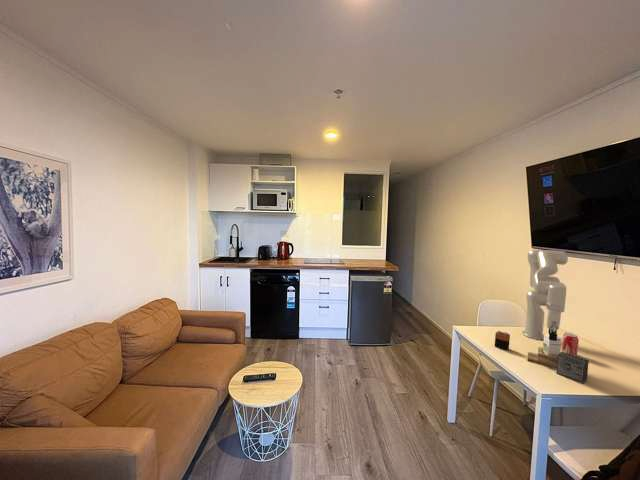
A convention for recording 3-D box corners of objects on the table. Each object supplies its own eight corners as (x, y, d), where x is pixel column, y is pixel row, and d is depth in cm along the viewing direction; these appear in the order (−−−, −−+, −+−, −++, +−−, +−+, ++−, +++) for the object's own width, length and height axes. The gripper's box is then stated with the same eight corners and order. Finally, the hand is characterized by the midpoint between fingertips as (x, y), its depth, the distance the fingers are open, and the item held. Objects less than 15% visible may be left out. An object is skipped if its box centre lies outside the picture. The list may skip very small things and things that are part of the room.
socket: (528, 353, 160) (528, 344, 160) (574, 365, 148) (574, 355, 147) (527, 360, 152) (528, 351, 151) (576, 374, 139) (577, 363, 139)
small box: (587, 380, 134) (589, 359, 133) (583, 384, 131) (585, 363, 130) (560, 370, 143) (562, 350, 142) (555, 373, 139) (557, 354, 139)
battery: (507, 350, 163) (508, 334, 163) (494, 346, 168) (495, 331, 168) (509, 348, 166) (510, 332, 166) (496, 344, 171) (497, 329, 171)
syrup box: (560, 364, 146) (562, 338, 145) (547, 362, 148) (549, 337, 147) (553, 359, 152) (556, 334, 151) (541, 357, 153) (543, 333, 152)
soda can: (560, 350, 166) (562, 331, 165) (575, 353, 162) (577, 334, 161) (562, 354, 160) (563, 335, 159) (578, 358, 156) (580, 338, 155)
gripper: (546, 301, 157) (543, 330, 158) (546, 309, 143) (543, 340, 145) (563, 304, 152) (560, 333, 154) (565, 313, 139) (562, 345, 140)
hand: (552, 337), depth 149 cm, fingers open, 9 cm apart
